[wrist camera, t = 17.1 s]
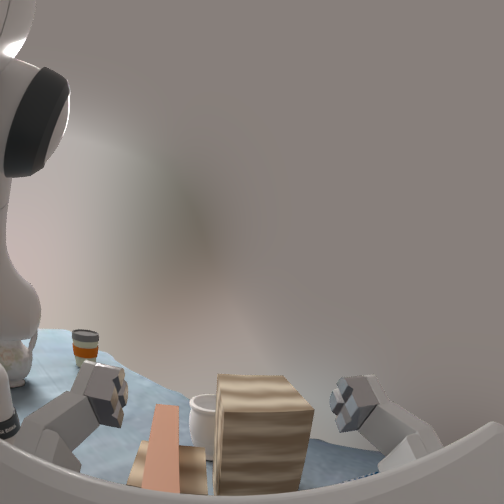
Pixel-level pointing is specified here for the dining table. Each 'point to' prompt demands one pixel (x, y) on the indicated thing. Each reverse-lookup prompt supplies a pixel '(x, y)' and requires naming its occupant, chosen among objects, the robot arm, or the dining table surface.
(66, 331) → the dining table surface
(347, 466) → the dining table surface
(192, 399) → the jar
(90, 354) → the reusable coffee cup
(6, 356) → the ceramic pitcher
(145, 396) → the dining table surface
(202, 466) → the base block
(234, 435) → the stand
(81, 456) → the dining table surface
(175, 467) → the rod
